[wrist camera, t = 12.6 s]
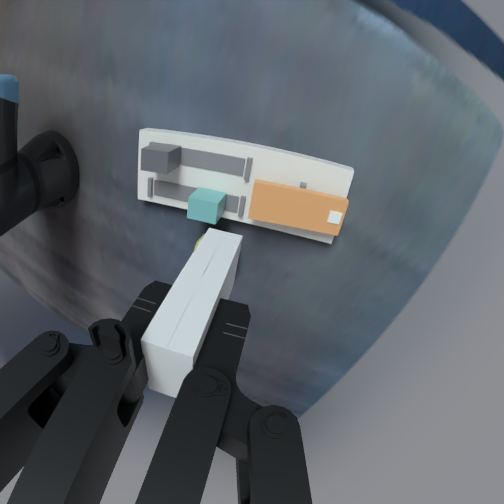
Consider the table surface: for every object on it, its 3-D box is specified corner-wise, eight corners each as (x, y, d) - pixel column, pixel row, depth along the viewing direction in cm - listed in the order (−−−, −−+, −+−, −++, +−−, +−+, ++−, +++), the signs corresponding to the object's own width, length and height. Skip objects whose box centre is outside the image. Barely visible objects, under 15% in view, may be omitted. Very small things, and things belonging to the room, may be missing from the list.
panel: (144, 194, 45) (133, 202, 42) (146, 127, 39) (134, 131, 36) (330, 237, 43) (331, 248, 40) (352, 167, 37) (355, 174, 34)
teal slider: (197, 206, 42) (186, 217, 38) (199, 187, 40) (188, 197, 37) (223, 212, 41) (215, 224, 38) (226, 192, 40) (218, 203, 36)
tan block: (248, 214, 39) (247, 218, 37) (254, 178, 36) (254, 182, 35) (336, 231, 39) (337, 236, 38) (347, 198, 36) (349, 202, 35)
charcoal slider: (154, 162, 39) (140, 170, 36) (155, 142, 38) (141, 148, 34) (179, 166, 39) (166, 174, 36) (181, 145, 37) (168, 152, 34)
